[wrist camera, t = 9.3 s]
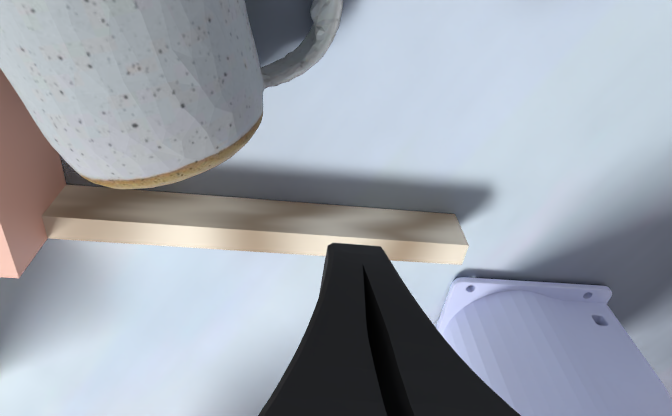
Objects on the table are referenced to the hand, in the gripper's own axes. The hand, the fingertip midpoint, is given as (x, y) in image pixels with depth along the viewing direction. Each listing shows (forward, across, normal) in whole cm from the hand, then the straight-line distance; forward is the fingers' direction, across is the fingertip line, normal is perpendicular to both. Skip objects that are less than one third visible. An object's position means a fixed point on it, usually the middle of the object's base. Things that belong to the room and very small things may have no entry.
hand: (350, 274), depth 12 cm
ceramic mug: (+11, +6, -4) cm, 13 cm away
